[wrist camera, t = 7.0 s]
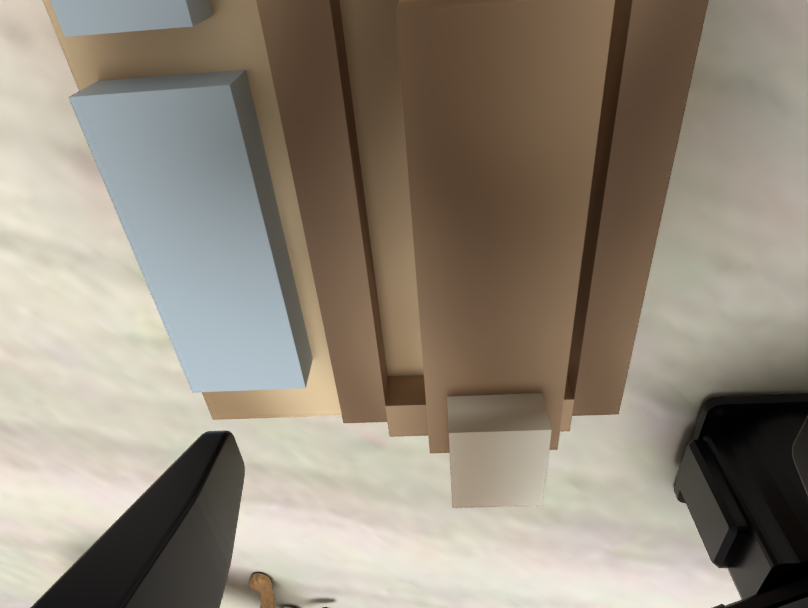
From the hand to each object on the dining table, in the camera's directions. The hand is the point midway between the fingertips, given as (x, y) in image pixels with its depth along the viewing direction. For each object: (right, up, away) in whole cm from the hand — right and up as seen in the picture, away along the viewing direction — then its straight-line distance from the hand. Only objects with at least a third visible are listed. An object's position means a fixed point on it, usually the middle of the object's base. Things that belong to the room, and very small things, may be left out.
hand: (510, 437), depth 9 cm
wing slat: (-7, +4, +9) cm, 12 cm away
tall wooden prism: (0, +5, +7) cm, 9 cm away
